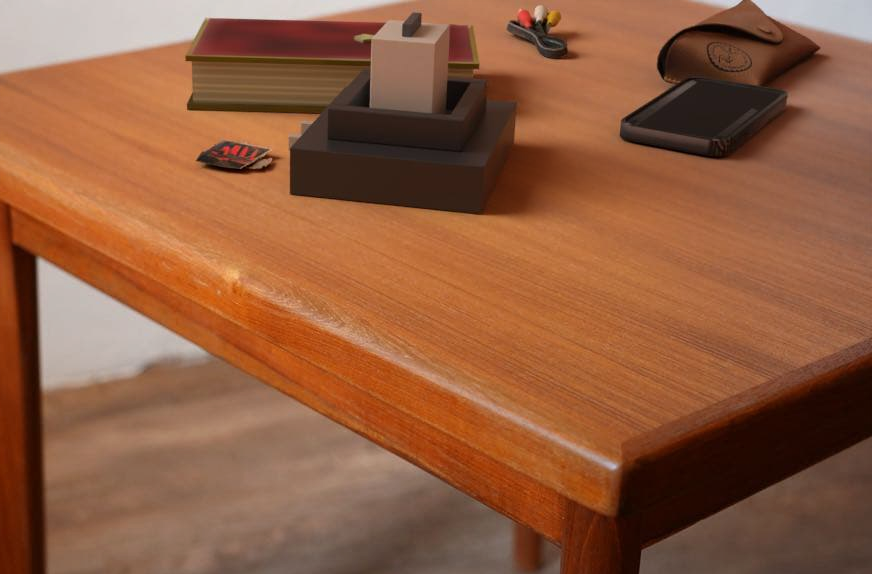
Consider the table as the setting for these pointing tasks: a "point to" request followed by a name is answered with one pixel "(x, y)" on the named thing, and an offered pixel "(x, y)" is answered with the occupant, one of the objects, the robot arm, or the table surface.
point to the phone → (704, 116)
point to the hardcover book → (292, 62)
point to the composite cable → (539, 31)
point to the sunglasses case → (734, 48)
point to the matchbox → (235, 155)
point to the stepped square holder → (405, 149)
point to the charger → (410, 66)
